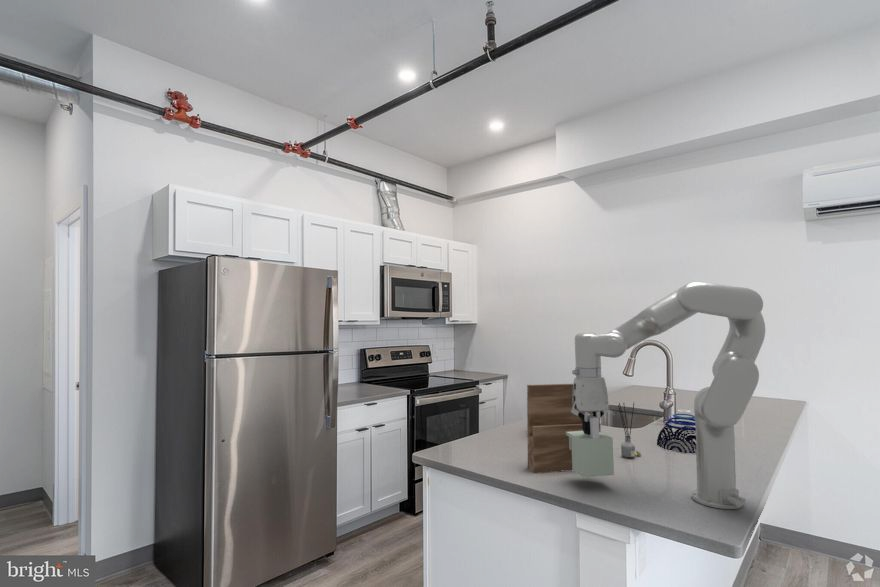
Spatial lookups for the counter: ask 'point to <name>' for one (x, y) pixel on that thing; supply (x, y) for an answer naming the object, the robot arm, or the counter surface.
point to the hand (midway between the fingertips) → (590, 433)
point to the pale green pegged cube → (591, 451)
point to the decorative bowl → (688, 438)
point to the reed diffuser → (628, 440)
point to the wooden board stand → (550, 427)
